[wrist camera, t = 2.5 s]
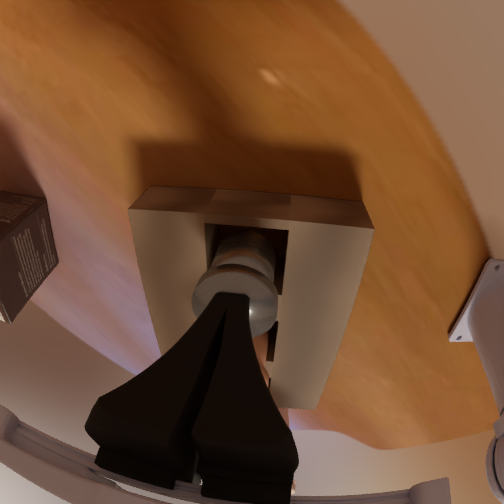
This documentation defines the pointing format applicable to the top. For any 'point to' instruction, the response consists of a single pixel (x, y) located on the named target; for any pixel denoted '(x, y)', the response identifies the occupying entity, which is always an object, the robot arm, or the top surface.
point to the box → (23, 251)
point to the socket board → (285, 276)
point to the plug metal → (242, 277)
